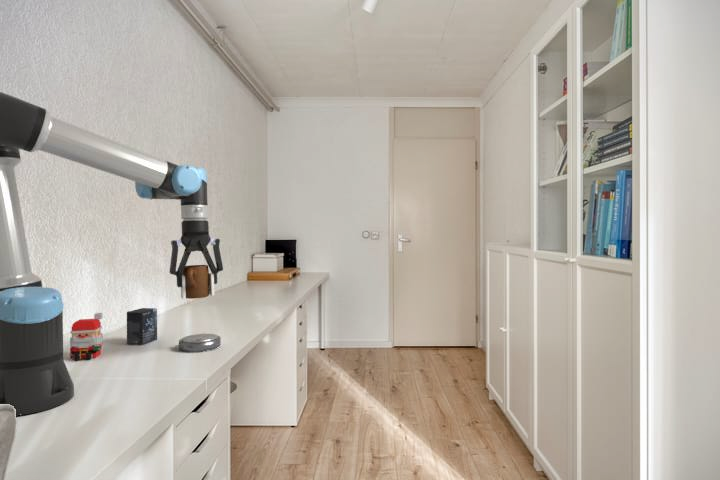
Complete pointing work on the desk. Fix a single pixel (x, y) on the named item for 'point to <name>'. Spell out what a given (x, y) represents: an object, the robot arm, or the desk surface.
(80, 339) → the figurine
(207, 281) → the mug
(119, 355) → the desk surface
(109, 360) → the desk surface
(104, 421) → the desk surface
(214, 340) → the grey metal dish
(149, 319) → the box
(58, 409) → the desk surface
